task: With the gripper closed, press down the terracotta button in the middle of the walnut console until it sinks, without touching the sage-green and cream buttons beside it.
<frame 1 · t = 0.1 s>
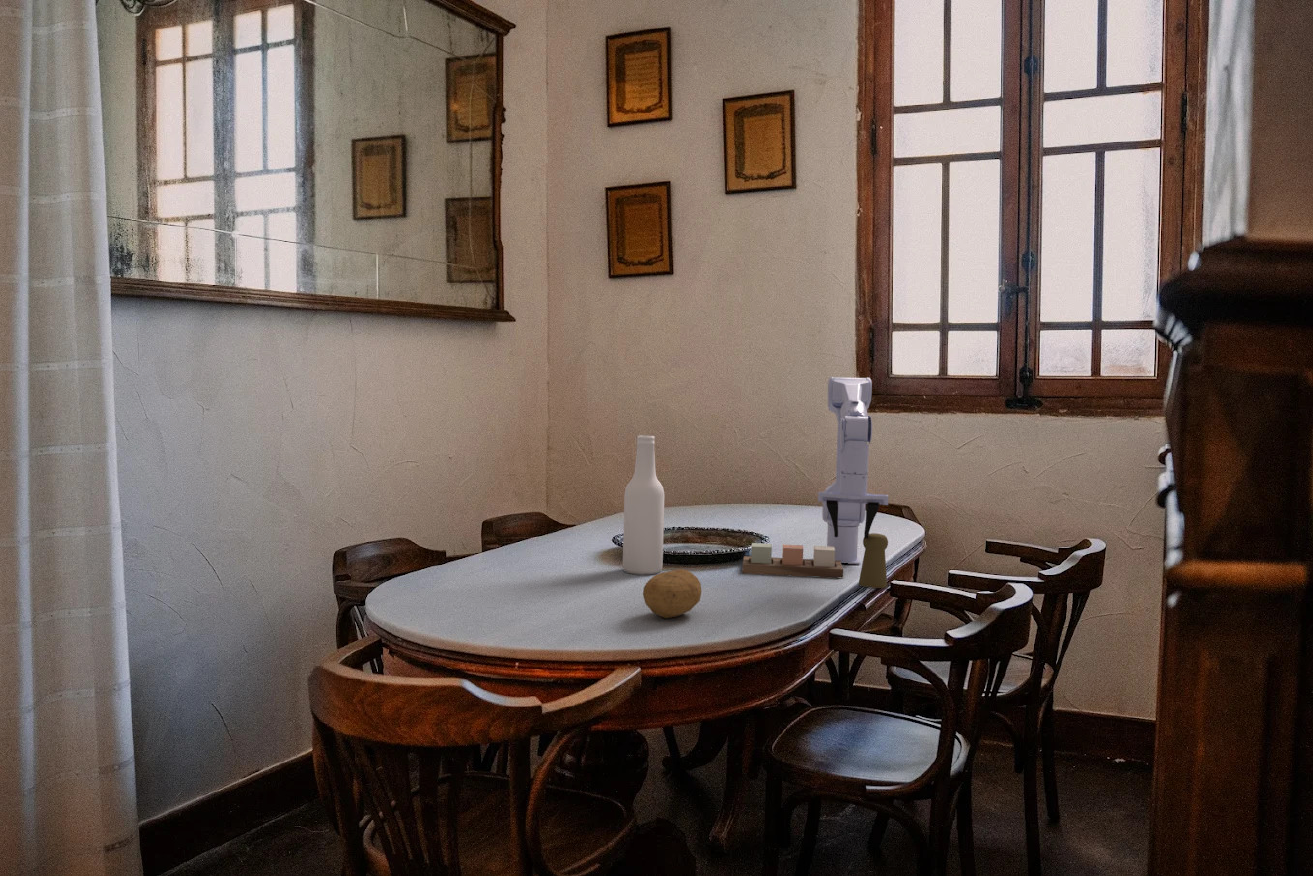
hand: (851, 537, 218), 10 cm above the table, tool pointing down, fingers open, 6 cm apart
alcohol: (642, 572, 228), on the table
terracotta button: (792, 555, 232), point 4 cm above the table, slide at 0.0 cm
cork: (872, 586, 220), on the table, touching gripper
sage button: (761, 554, 233), point 4 cm above the table, slide at 0.0 cm
cream button: (824, 556, 231), point 4 cm above the table, slide at 0.0 cm
walnut console: (792, 571, 232), on the table
potato: (670, 617, 188), on the table
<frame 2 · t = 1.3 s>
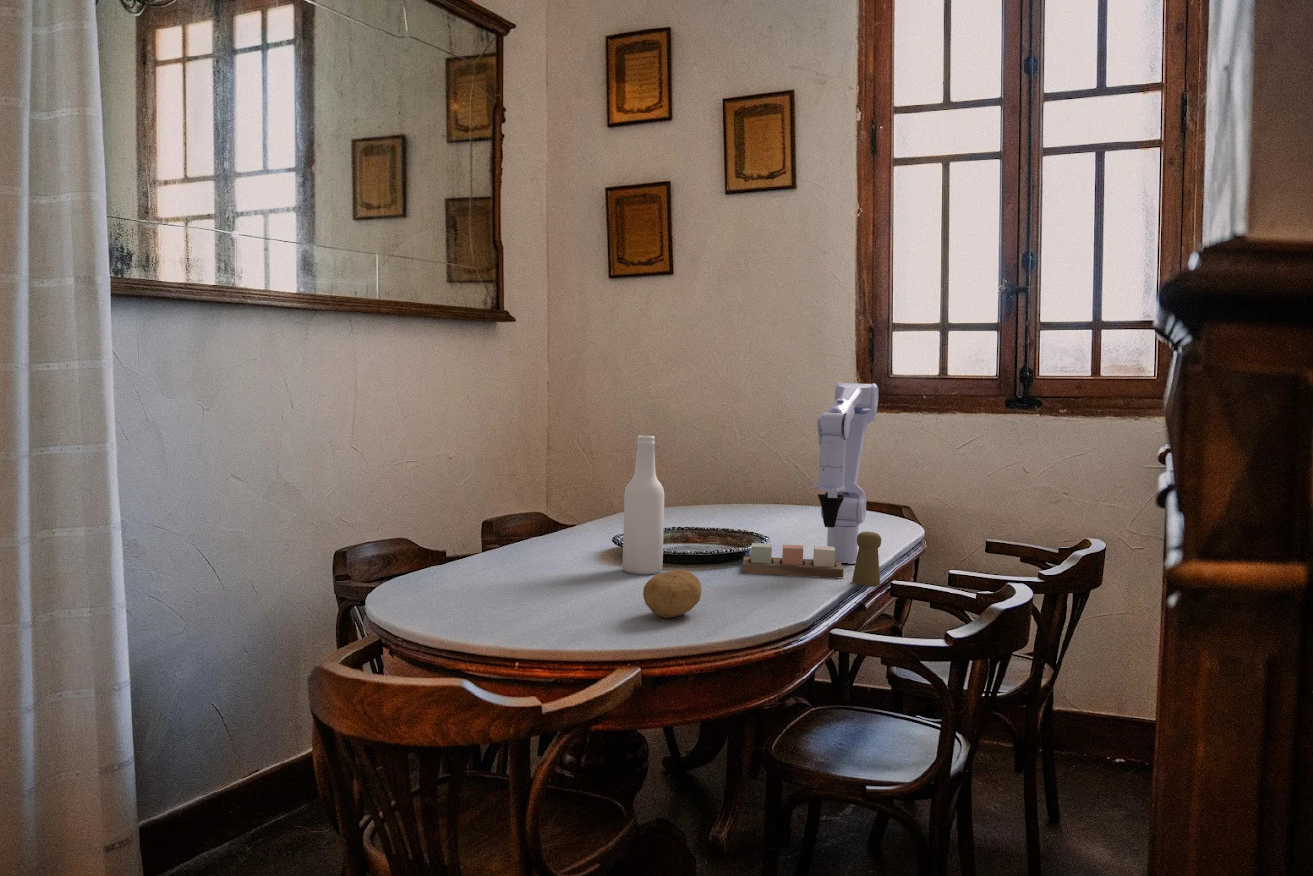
hand: (829, 526, 231), 10 cm above the table, tool pointing down, fingers closed
cork: (865, 583, 222), on the table
everything else where it was.
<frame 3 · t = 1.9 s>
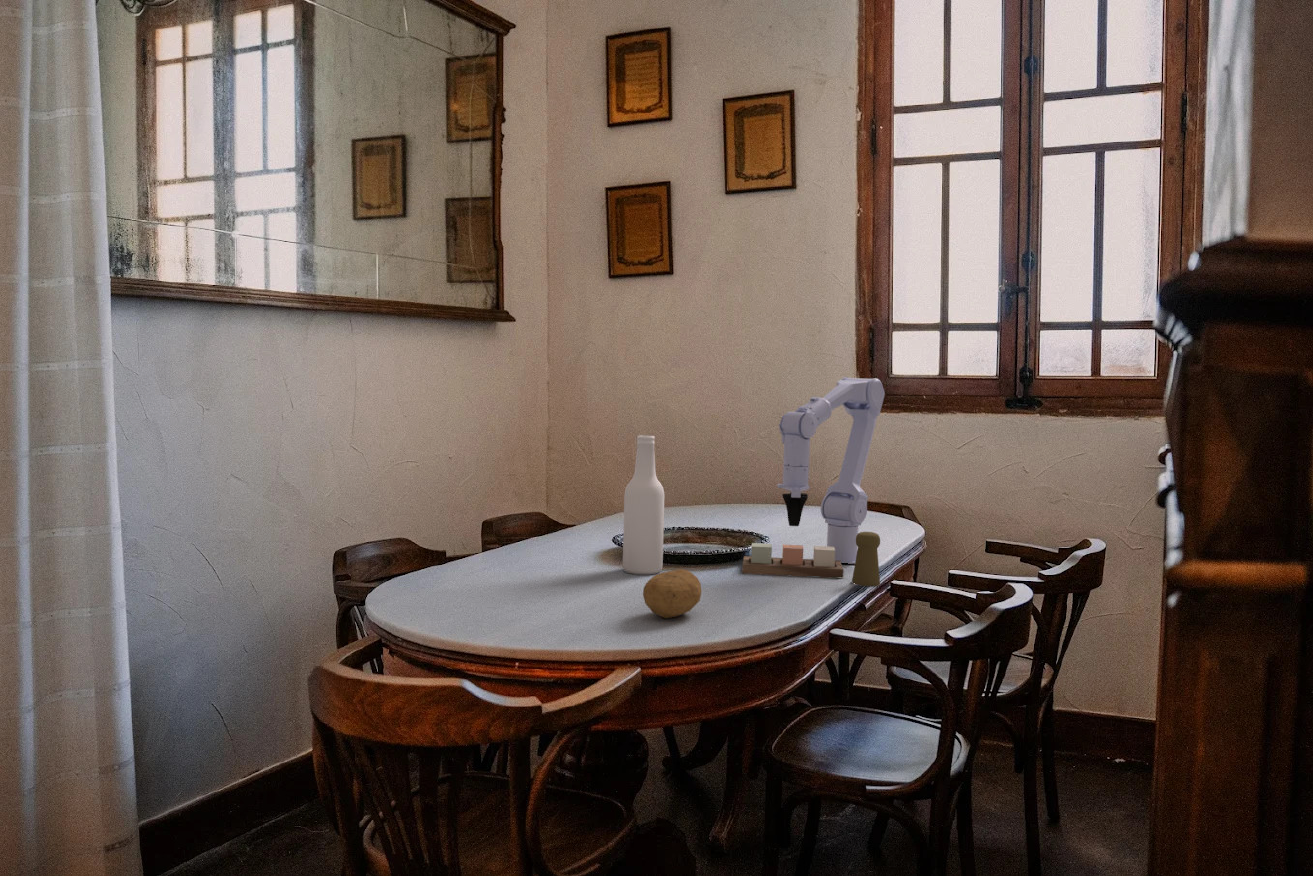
hand: (793, 525, 232), 10 cm above the table, tool pointing down, fingers closed
nothing on the table moved.
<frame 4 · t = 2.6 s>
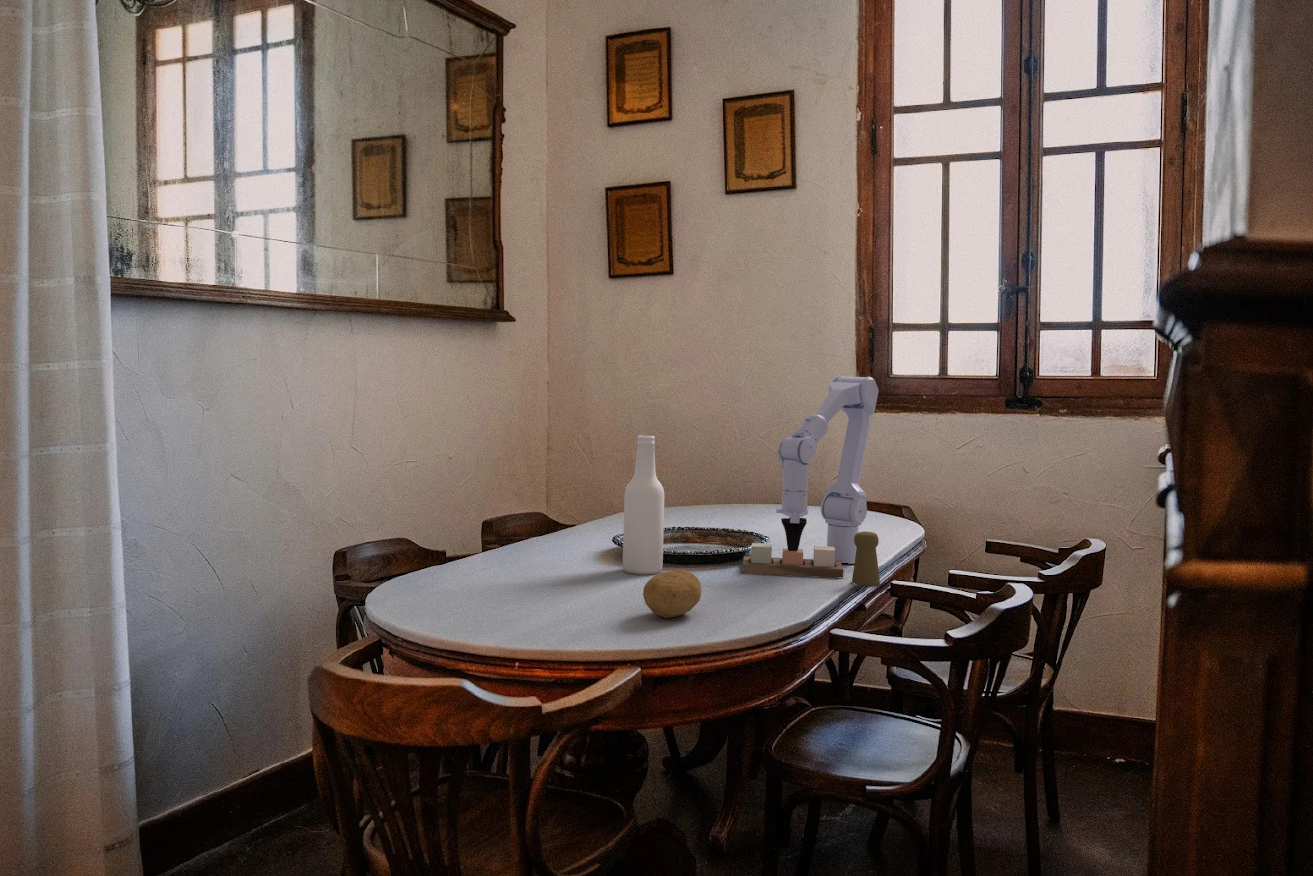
hand: (792, 550, 232), 5 cm above the table, tool pointing down, fingers closed, pressing on terracotta button
terracotta button: (792, 559, 232), point 3 cm above the table, slide at 0.8 cm, touching gripper
everything else where it was.
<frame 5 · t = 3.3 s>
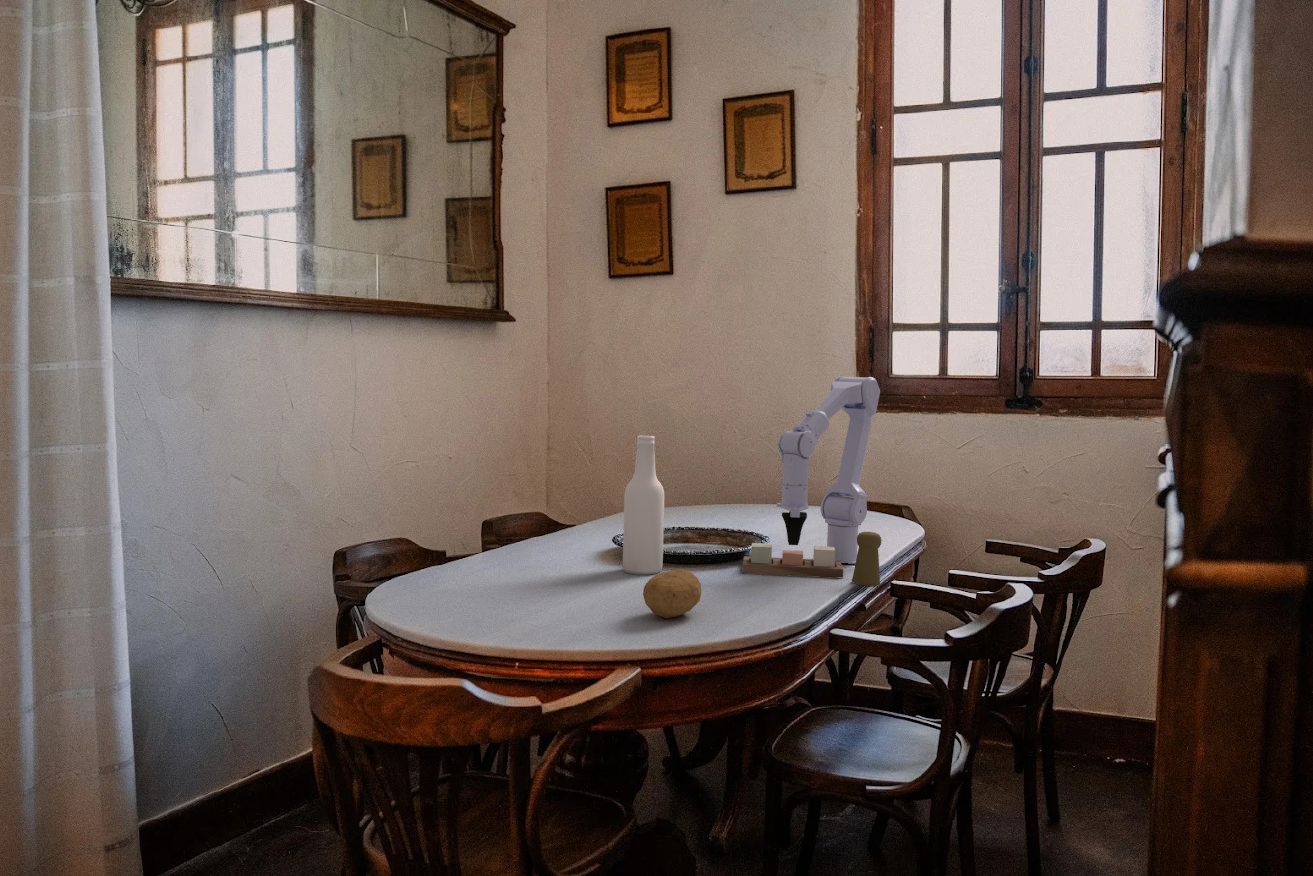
hand: (793, 544, 232), 6 cm above the table, tool pointing down, fingers closed
terracotta button: (792, 561, 232), point 2 cm above the table, slide at 1.3 cm
everything else where it was.
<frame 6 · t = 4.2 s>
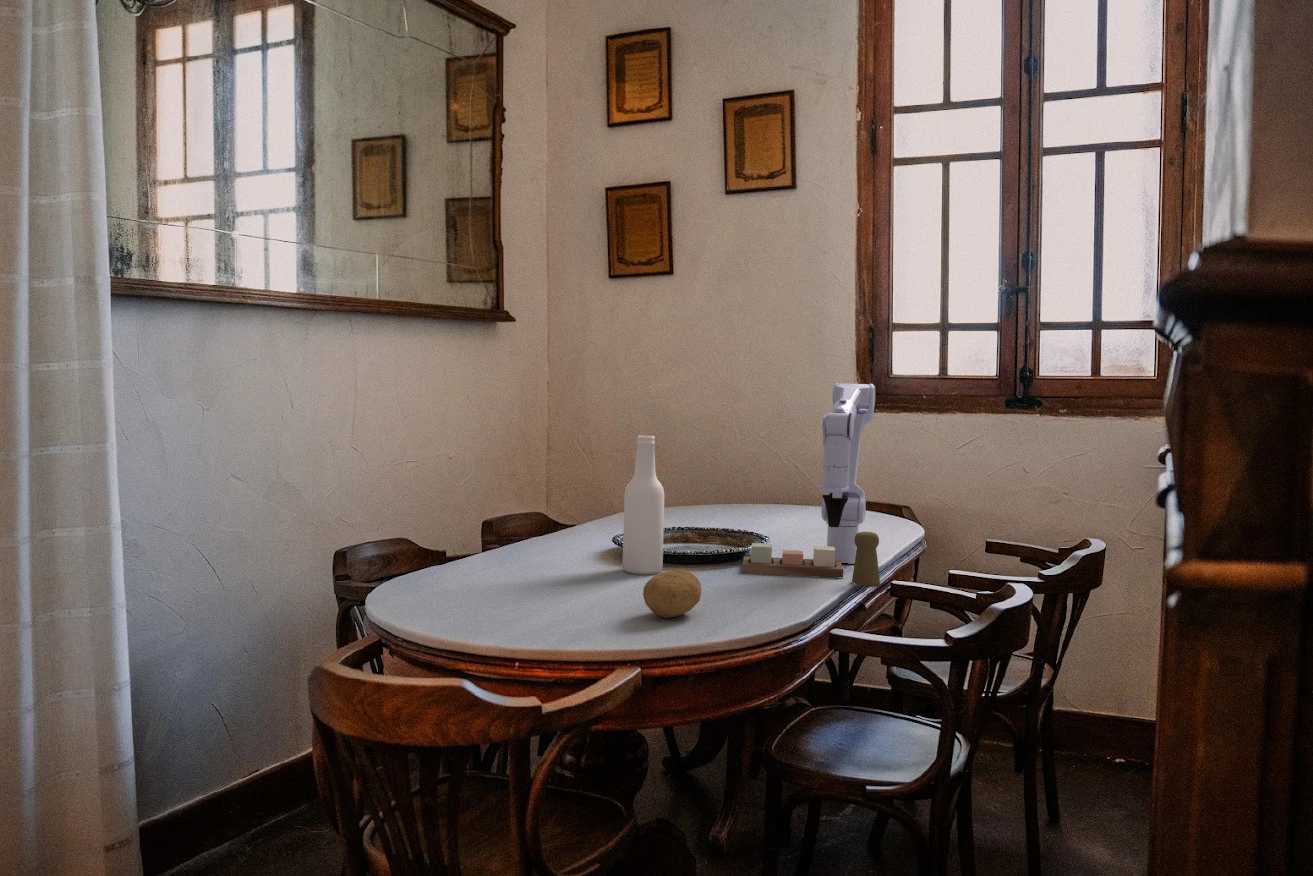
hand: (833, 526, 231), 10 cm above the table, tool pointing down, fingers closed
nothing on the table moved.
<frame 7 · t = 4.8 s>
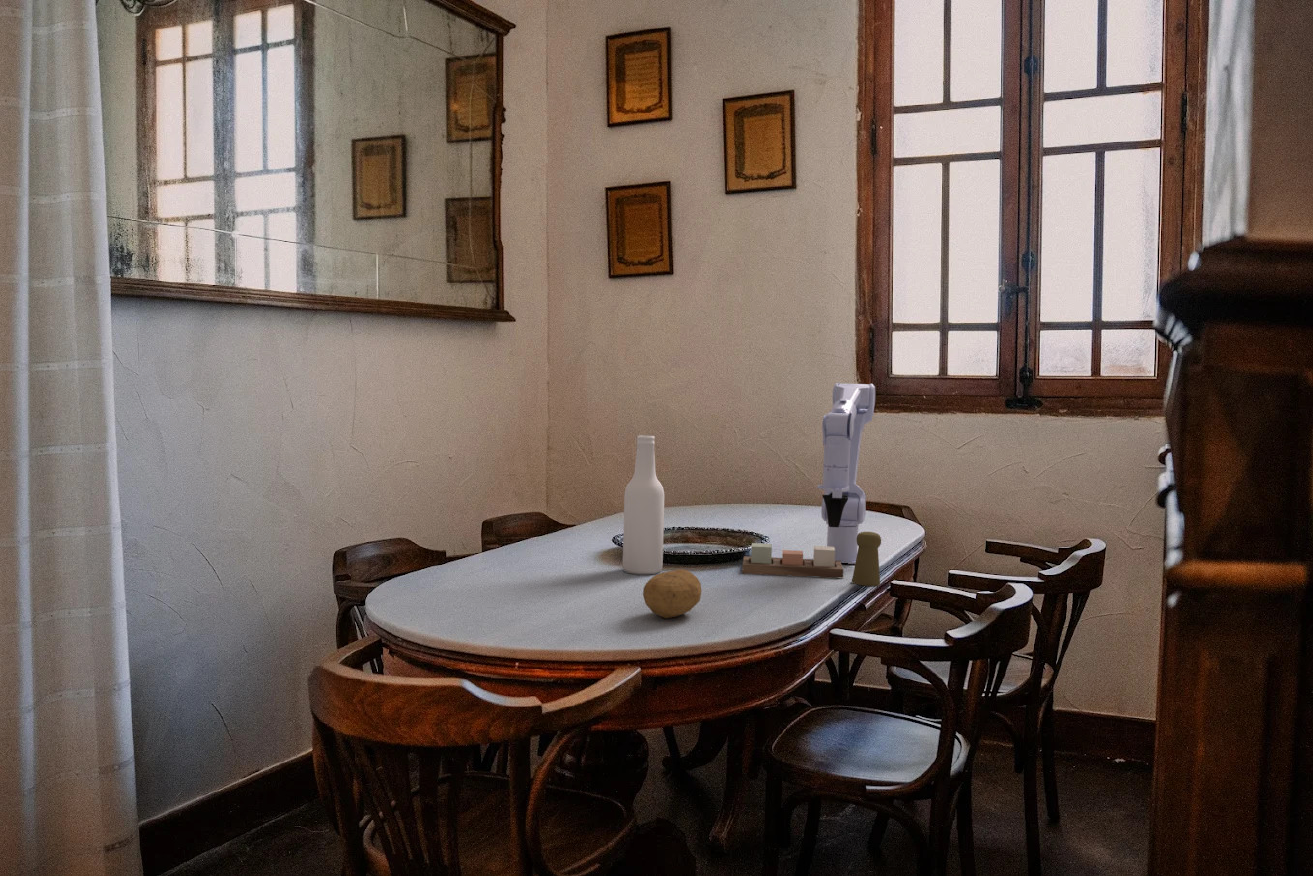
hand: (833, 526, 231), 10 cm above the table, tool pointing down, fingers closed
nothing on the table moved.
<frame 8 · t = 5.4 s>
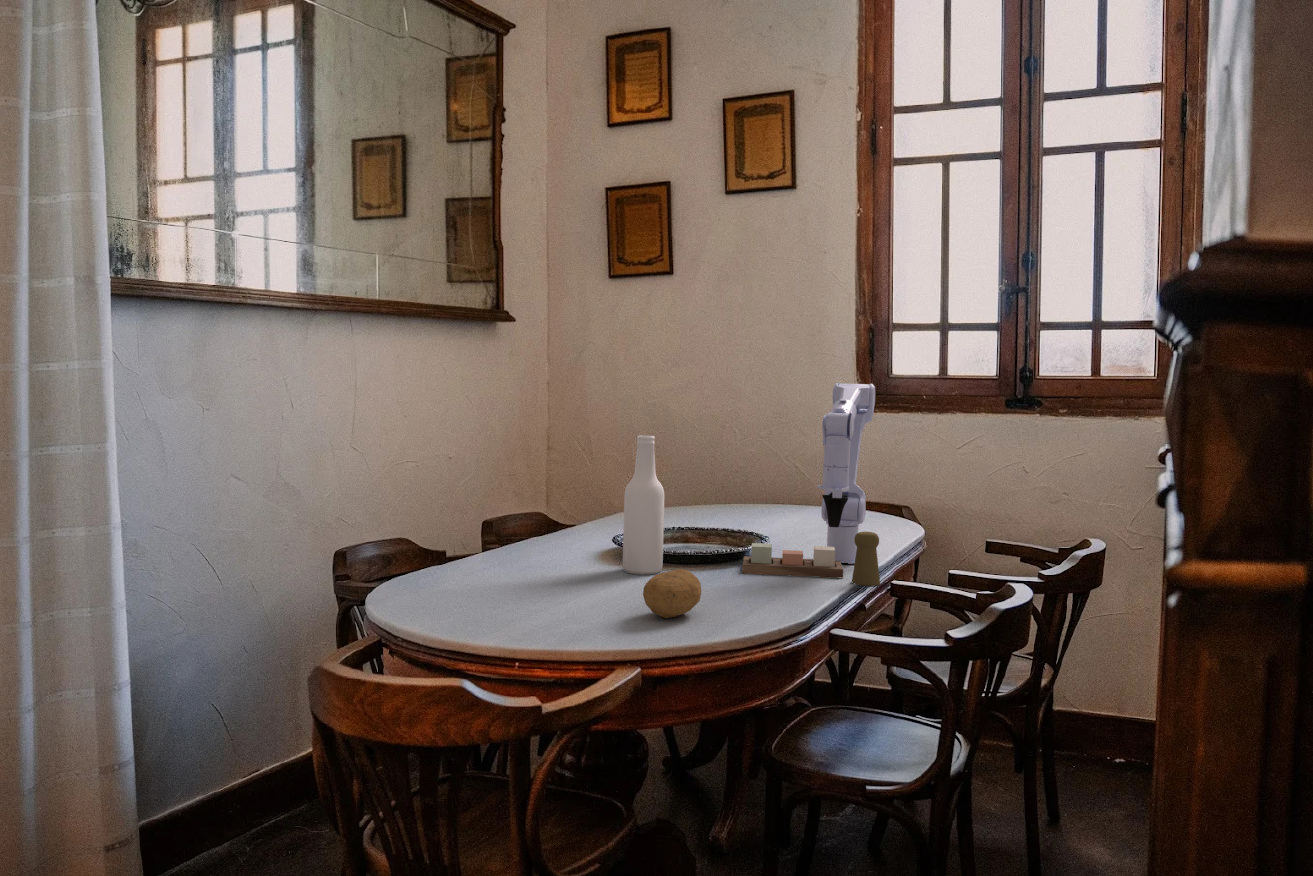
hand: (833, 526, 231), 10 cm above the table, tool pointing down, fingers closed
nothing on the table moved.
at the end: terracotta button slide at 1.3 cm; sage button slide at 0.0 cm; cream button slide at 0.0 cm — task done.
